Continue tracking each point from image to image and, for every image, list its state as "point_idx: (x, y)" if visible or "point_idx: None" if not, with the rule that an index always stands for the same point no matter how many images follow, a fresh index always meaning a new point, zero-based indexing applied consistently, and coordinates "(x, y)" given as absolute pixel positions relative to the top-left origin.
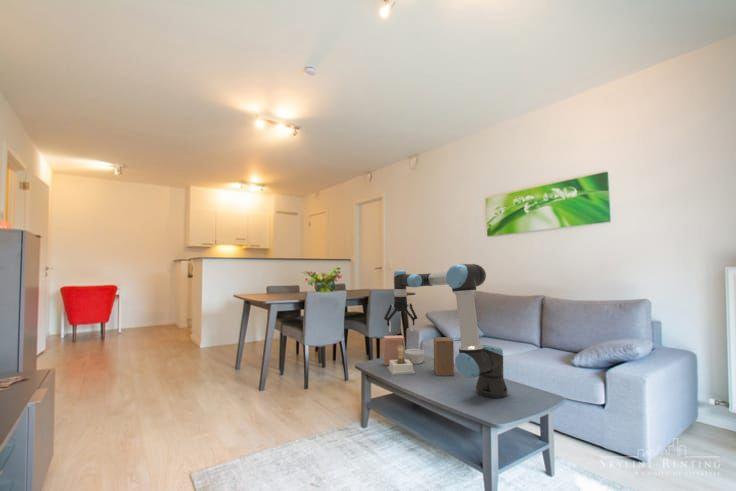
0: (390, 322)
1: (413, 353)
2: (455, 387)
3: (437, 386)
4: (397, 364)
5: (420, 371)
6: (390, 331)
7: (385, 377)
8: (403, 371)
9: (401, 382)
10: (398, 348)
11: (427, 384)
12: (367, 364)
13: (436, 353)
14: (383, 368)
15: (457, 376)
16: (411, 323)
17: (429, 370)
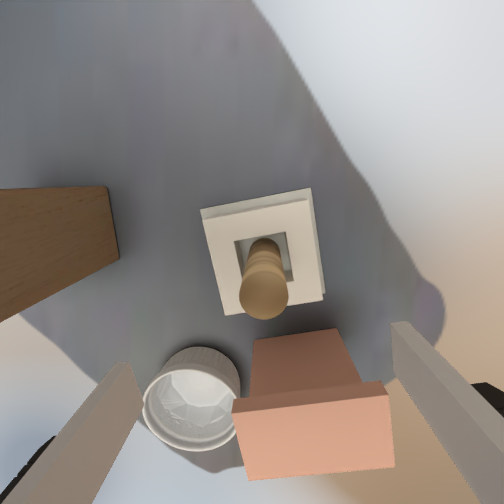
0: (489, 430)
1: (200, 428)
2: (22, 13)
3: (102, 21)
4: (284, 221)
5: (178, 244)
6: (397, 325)
7: (341, 145)
8: (254, 207)
9: (268, 71)
10: (280, 274)
11: (147, 49)
12: None
13: (25, 192)
14: (343, 281)
15: (21, 180)
16: (69, 454)
17: (140, 260)
